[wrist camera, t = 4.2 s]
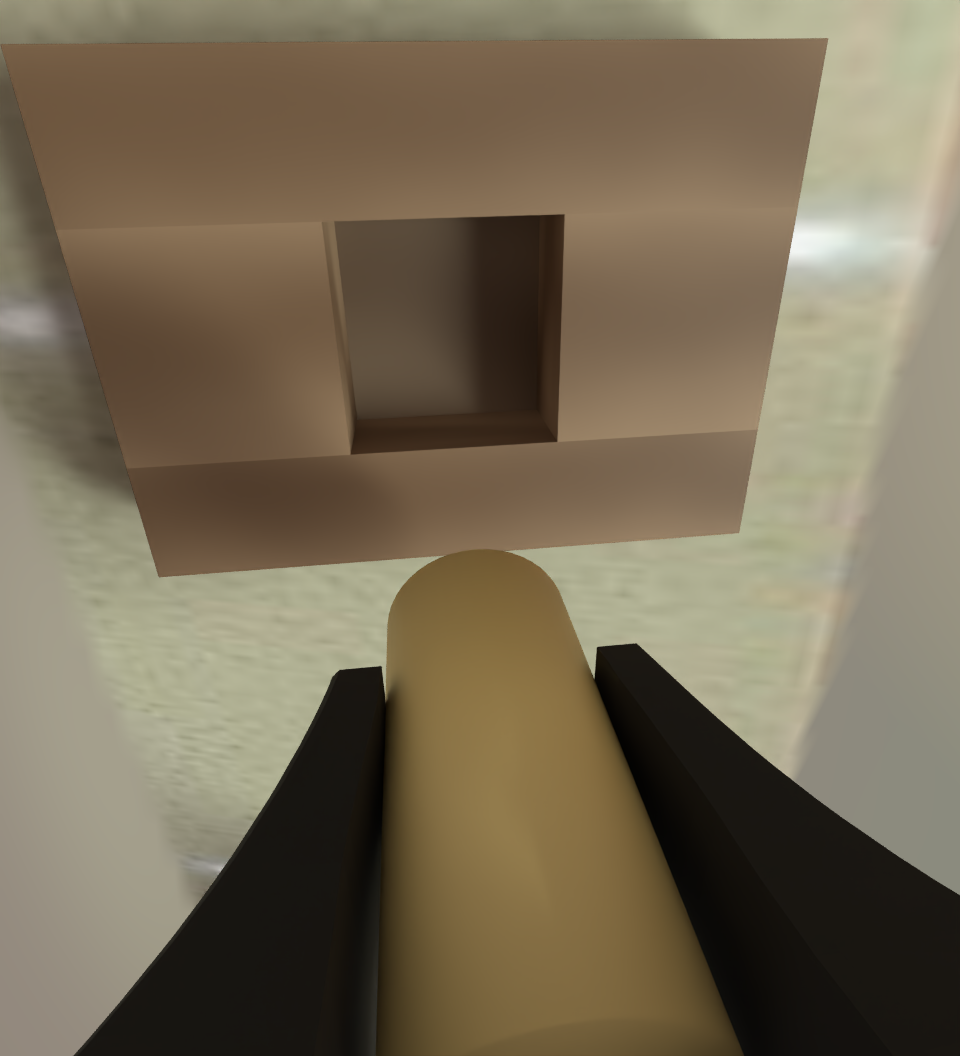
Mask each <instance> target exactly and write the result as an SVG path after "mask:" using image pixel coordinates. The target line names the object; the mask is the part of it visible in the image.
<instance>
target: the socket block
mask: <svg viewBox="0 0 960 1056" xmlns="http://www.w3.org/2000/svg"><path fill="white" fill-rule="evenodd" d="M827 42H828V38H812V39H674V40H535V41H397V42H258V43H120V44H0V45H1V48H2V51H3V55H4V58H5V62H6V65H7V68H8V72H9V75H10V78H11V82H12V85H13V88H14V92H15V95H16V99H17V102H18V105H19V109H20V112H21V115H22V119H23V122H24V125H25V129H26V132H27V136H28V139H29V142H30V146H31V149H32V152H33V156H34V159H35V162H36V166H37V169H38V172H39V176H40V179H41V183H42V186H43V189H44V193H45V196H46V199H47V203H48V206H49V209H50V213H51V216H52V220H53V223H54V226H55V230H56V233H57V236H58V240H59V243H60V246H61V250H62V253H63V257H64V260H65V263H66V267H67V270H68V273H69V277H70V280H71V283H72V287H73V290H74V294H75V297H76V300H77V304H78V307H79V310H80V314H81V317H82V320H83V324H84V327H85V331H86V334H87V337H88V341H89V344H90V347H91V351H92V354H93V357H94V361H95V364H96V368H97V371H98V374H99V378H100V381H101V384H102V388H103V391H104V394H105V398H106V401H107V405H108V408H109V411H110V415H111V418H112V421H113V425H114V428H115V431H116V435H117V438H118V442H119V445H120V448H121V452H122V455H123V458H124V462H125V465H126V468H127V472H128V475H129V479H130V482H131V485H132V489H133V492H134V495H135V499H136V502H137V505H138V509H139V512H140V515H141V519H142V522H143V526H144V529H145V532H146V536H147V539H148V542H149V546H150V549H151V552H152V556H153V559H154V563H155V566H156V569H157V573H158V576H159V577H168V576H181V575H195V574H208V573H221V572H234V571H247V570H260V569H273V568H286V567H300V566H313V565H326V564H339V563H352V562H365V561H378V560H392V559H405V558H418V557H431V556H444V555H449V554H453V553H457V552H461V551H466V550H474V549H491V550H500V551H510V550H523V549H536V548H549V547H562V546H575V545H588V544H602V543H615V542H628V541H641V540H654V539H667V538H680V537H693V536H707V535H720V534H733V533H739V531H740V525H741V519H742V514H743V508H744V503H745V497H746V492H747V486H748V481H749V475H750V469H751V464H752V458H753V453H754V447H755V442H756V436H757V431H758V425H759V420H760V414H761V408H762V403H763V397H764V392H765V386H766V381H767V375H768V370H769V364H770V359H771V353H772V347H773V342H774V336H775V331H776V325H777V320H778V314H779V309H780V303H781V298H782V292H783V286H784V281H785V275H786V270H787V264H788V259H789V253H790V248H791V242H792V236H793V231H794V225H795V220H796V214H797V209H798V203H799V198H800V192H801V187H802V181H803V175H804V170H805V164H806V159H807V153H808V148H809V142H810V137H811V131H812V126H813V120H814V114H815V109H816V103H817V98H818V92H819V87H820V81H821V76H822V70H823V65H824V59H825V53H826V48H827Z"/></svg>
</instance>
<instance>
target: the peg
mask: <svg viewBox="0 0 960 1056" xmlns="http://www.w3.org/2000/svg"><path fill="white" fill-rule="evenodd" d="M376 1056H744V1054H743V1052H742V1049H741V1047H740V1044H739V1042H738V1039H737V1037H736V1034H735V1032H734V1029H733V1027H732V1024H731V1022H730V1019H729V1017H728V1014H727V1012H726V1009H725V1007H724V1004H723V1001H722V999H721V996H720V994H719V991H718V989H717V986H716V984H715V981H714V979H713V976H712V974H711V971H710V969H709V966H708V964H707V961H706V959H705V956H704V954H703V951H702V949H701V946H700V944H699V941H698V939H697V936H696V934H695V931H694V929H693V926H692V924H691V921H690V919H689V916H688V914H687V911H686V909H685V906H684V904H683V901H682V899H681V896H680V894H679V891H678V888H677V886H676V883H675V881H674V878H673V876H672V873H671V871H670V868H669V866H668V863H667V861H666V858H665V856H664V853H663V851H662V848H661V846H660V843H659V841H658V838H657V836H656V833H655V831H654V828H653V826H652V823H651V821H650V818H649V816H648V813H647V811H646V808H645V806H644V803H643V801H642V798H641V796H640V793H639V791H638V788H637V786H636V783H635V781H634V778H633V775H632V773H631V770H630V768H629V765H628V763H627V760H626V758H625V755H624V753H623V750H622V748H621V745H620V743H619V740H618V738H617V735H616V733H615V730H614V728H613V725H612V723H611V720H610V718H609V715H608V713H607V710H606V708H605V705H604V703H603V700H602V698H601V695H600V693H599V690H598V688H597V685H596V683H595V680H594V678H593V675H592V673H591V670H590V668H589V665H588V662H587V660H586V657H585V655H584V652H583V650H582V647H581V645H580V642H579V640H578V637H577V635H576V632H575V630H574V627H573V625H572V622H571V620H570V617H569V615H568V612H567V610H566V607H565V605H564V602H563V600H562V597H561V595H560V592H559V590H558V588H557V587H556V585H555V583H554V582H553V581H552V579H551V578H550V577H549V575H548V574H546V573H545V572H544V571H543V570H542V569H541V568H540V567H538V566H537V565H536V564H534V563H533V562H531V561H529V560H527V559H525V558H523V557H521V556H518V555H515V554H513V553H509V552H505V551H500V550H491V549H474V550H466V551H461V552H457V553H453V554H449V555H447V556H444V557H441V558H439V559H437V560H435V561H433V562H431V563H429V564H427V565H426V566H424V567H423V568H421V569H420V570H418V571H417V572H416V573H415V574H414V575H413V576H412V577H410V578H409V579H408V581H407V582H406V583H405V584H404V585H403V586H402V588H401V589H400V591H399V592H398V594H397V595H396V597H395V599H394V601H393V604H392V606H391V609H390V613H389V618H388V629H387V665H386V716H385V753H384V772H383V808H382V844H381V879H380V915H379V951H378V987H377V1023H376Z"/></svg>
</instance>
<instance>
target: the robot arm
mask: <svg viewBox="0 0 960 1056" xmlns="http://www.w3.org/2000/svg"><path fill="white" fill-rule="evenodd" d="M595 683H596V685H597V688H598V690H599V693H600V695H601V698H602V700H603V703H604V705H605V708H606V710H607V713H608V715H609V718H610V720H611V723H612V725H613V728H614V730H615V733H616V735H617V738H618V740H619V743H620V745H621V748H622V750H623V753H624V755H625V758H626V760H627V763H628V765H629V768H630V770H631V773H632V775H633V778H634V781H635V783H636V786H637V788H638V791H639V793H640V796H641V798H642V801H643V803H644V806H645V808H646V811H647V813H648V816H649V818H650V821H651V823H652V826H653V828H654V831H655V833H656V836H657V838H658V841H659V843H660V846H661V848H662V851H663V853H664V856H665V858H666V861H667V863H668V866H669V868H670V871H671V873H672V876H673V878H674V881H675V883H676V886H677V888H678V891H679V894H680V896H681V899H682V901H683V904H684V906H685V909H686V911H687V914H688V916H689V919H690V921H691V924H692V926H693V929H694V931H695V934H696V936H697V939H698V941H699V944H700V946H701V949H702V951H703V954H704V956H705V959H706V961H707V964H708V966H709V969H710V971H711V974H712V976H713V979H714V981H715V984H716V986H717V989H718V991H719V994H720V996H721V999H722V1001H723V1004H724V1007H725V1009H726V1012H727V1014H728V1017H729V1019H730V1022H731V1024H732V1027H733V1029H734V1032H735V1034H736V1037H737V1039H738V1042H739V1044H740V1047H741V1049H742V1052H743V1054H744V1056H960V895H958V894H957V893H955V892H954V891H952V890H950V889H948V888H947V887H945V886H944V885H942V884H940V883H939V882H937V881H935V880H934V879H932V878H931V877H929V876H928V875H926V874H925V873H923V872H921V871H920V870H918V869H917V868H915V867H914V866H912V865H911V864H909V863H908V862H906V861H904V860H903V859H901V858H900V857H898V856H897V855H895V854H894V853H892V852H891V851H889V850H888V849H887V848H885V847H884V846H882V845H881V844H879V843H878V842H876V841H875V840H874V839H872V838H871V837H869V836H868V835H866V834H865V833H863V832H862V831H861V830H859V829H858V828H856V827H855V826H853V825H852V824H850V823H849V822H847V821H846V820H845V819H843V818H842V817H840V816H839V815H838V814H836V813H835V812H833V811H832V810H830V809H829V808H828V807H827V806H825V805H824V804H823V803H821V802H820V801H818V800H817V799H816V798H814V797H813V796H812V795H811V794H809V793H808V792H807V791H805V790H804V789H803V788H802V787H800V786H799V785H798V784H796V783H795V782H794V781H793V780H791V779H790V778H789V777H787V776H786V775H785V774H784V773H782V772H781V771H780V770H779V769H777V768H776V767H775V766H773V765H772V764H771V763H770V762H768V761H767V760H766V759H765V758H764V757H762V756H761V755H760V754H759V753H758V752H756V751H755V750H754V749H753V748H752V747H750V746H749V745H748V744H747V743H746V742H745V741H743V740H742V739H741V738H740V737H739V736H738V735H737V734H735V733H734V732H733V731H732V730H731V729H730V728H728V727H727V726H726V725H725V724H724V723H723V722H721V721H720V720H719V719H718V718H717V717H716V716H715V715H714V714H712V713H711V712H710V711H709V710H708V709H707V708H706V707H705V706H704V705H702V704H701V703H700V702H699V701H698V700H697V699H696V698H695V697H694V696H693V695H692V694H690V693H689V692H688V691H687V690H686V689H685V688H684V687H683V686H682V685H681V684H680V683H679V682H677V681H676V680H675V679H674V678H673V677H672V676H671V675H670V674H669V673H668V672H667V671H666V670H665V669H664V668H663V667H661V666H660V665H659V664H658V663H657V662H656V661H655V660H654V659H653V658H652V657H651V656H650V655H649V654H647V653H646V652H645V651H644V650H643V649H642V648H641V647H640V646H639V645H638V644H637V643H636V644H625V645H613V646H602V647H597V654H596V667H595ZM385 716H386V700H385V692H384V684H383V675H382V667H381V666H379V667H367V668H356V669H345V670H339V671H338V672H337V673H336V674H335V675H334V676H333V677H332V680H331V682H330V685H329V687H328V689H327V692H326V694H325V696H324V698H323V700H322V703H321V705H320V707H319V709H318V711H317V713H316V715H315V717H314V719H313V721H312V723H311V725H310V727H309V729H308V731H307V733H306V734H305V736H304V738H303V740H302V742H301V744H300V746H299V748H298V749H297V751H296V753H295V755H294V756H293V758H292V760H291V762H290V763H289V765H288V767H287V769H286V770H285V772H284V774H283V776H282V777H281V779H280V781H279V783H278V784H277V786H276V788H275V790H274V791H273V793H272V794H271V796H270V798H269V799H268V801H267V803H266V804H265V806H264V807H263V809H262V810H261V812H260V813H259V815H258V817H257V818H256V820H255V821H254V823H253V824H252V826H251V827H250V829H249V830H248V832H247V834H246V835H245V837H244V838H243V840H242V841H241V843H240V844H239V846H238V847H237V849H236V851H235V852H234V854H233V855H232V856H231V858H230V859H229V861H228V862H227V864H226V865H225V867H224V868H223V869H222V871H221V872H220V874H219V875H218V877H217V878H216V879H215V881H214V882H213V884H212V885H211V886H210V888H209V889H208V891H207V892H206V893H205V895H204V896H203V897H202V899H201V900H200V902H199V903H198V904H197V905H196V907H195V908H194V909H193V911H192V912H191V913H190V915H189V916H188V917H187V919H186V920H185V922H184V923H183V924H182V925H181V927H180V928H179V930H178V931H177V932H176V934H175V935H174V936H173V937H172V939H171V940H170V941H169V942H168V944H167V945H166V946H165V947H164V948H163V950H162V951H161V952H160V953H159V955H158V956H157V957H156V959H155V960H154V961H153V962H152V964H151V965H150V966H149V967H148V968H147V969H146V971H145V972H144V973H143V974H142V976H141V977H140V978H139V980H138V981H137V982H136V983H135V984H134V986H133V987H132V988H131V989H130V990H129V992H128V993H127V994H126V995H125V997H124V998H123V999H122V1000H121V1001H120V1003H119V1004H118V1005H117V1006H116V1007H115V1009H114V1010H113V1011H112V1012H111V1013H110V1014H109V1016H108V1017H107V1018H106V1019H105V1020H104V1022H103V1023H102V1024H101V1025H100V1026H99V1027H98V1029H97V1030H96V1031H95V1032H94V1033H93V1034H92V1036H91V1037H90V1038H89V1039H88V1040H87V1041H86V1043H85V1044H84V1045H83V1046H82V1047H81V1048H80V1049H79V1050H78V1052H76V1054H75V1055H74V1056H376V1023H377V987H378V951H379V915H380V879H381V844H382V808H383V772H384V753H385Z"/></svg>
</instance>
